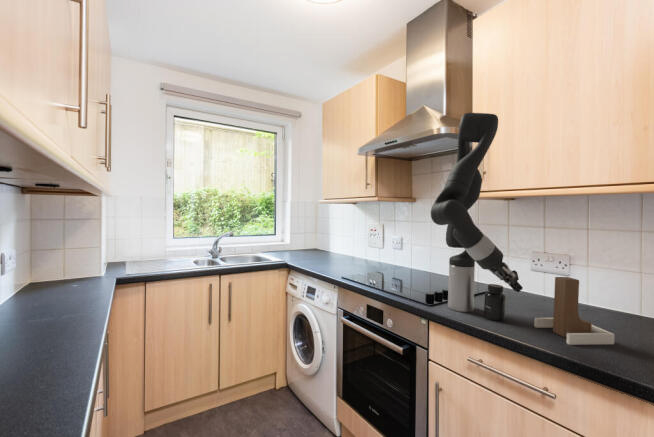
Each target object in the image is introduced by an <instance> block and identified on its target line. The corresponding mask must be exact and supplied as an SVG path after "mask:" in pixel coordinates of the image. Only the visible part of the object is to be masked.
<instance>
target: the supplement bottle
mask: <svg viewBox="0 0 654 437" xmlns="http://www.w3.org/2000/svg"><path fill="white" fill-rule="evenodd" d="M483 298H484V301H483V303H484V304H483V317H484V318H485V319H486V320H489V321H493V322H503V321H505V320H506V307H507V305H506V304H507V296H506V294H505V293H504V286H503V285H501V284H495V283H489V284H488V285H487V291H486V292H485V293H484V297H483Z"/></svg>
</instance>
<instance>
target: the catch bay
mask: <svg viewBox="0 0 654 437" xmlns="http://www.w3.org/2000/svg"><path fill="white" fill-rule="evenodd" d="M553 318H554V317H534V324H533V326H534V328H537V329H538V328H541V329H543V328H551V329H553ZM565 340H566V342H565V343H566V344H567V345H571V346H573V345H574V346H575V345H578V346H579V345H584V346H585V345H615V333H613V332H610V331H607V330H605V329H603V328H601V327H599V326H595V325H594V324H591V333H567V337H566V339H565Z"/></svg>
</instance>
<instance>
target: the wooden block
mask: <svg viewBox="0 0 654 437" xmlns="http://www.w3.org/2000/svg"><path fill="white" fill-rule="evenodd" d="M553 293H554V295H553V296H554V298H553V317H552V318H553V328H552V331H553V333H554V334H557V335H559V336H560V337H563V338H567V333H591V325H592V323H591V322H590V321H586V320H585V319H582V318H580V315H579V298H580V296H579V293H580V280H579V279H577V278H573V277H569V276H555V277H554V292H553Z"/></svg>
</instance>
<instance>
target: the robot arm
mask: <svg viewBox="0 0 654 437" xmlns="http://www.w3.org/2000/svg"><path fill="white" fill-rule="evenodd" d="M498 127H499V117H498V115H497V114H496V113H488V112H487V113H486V112H485V113H484V112H465V113H464V114H463V115H462V116H461V118H460V122H459V125H458V135H457V136H458V137H457V154H456V155H457V156H456V163H455V165H454V166H453V167H452V168H451V170H450V172H449V174H448V176H447V179H446V182H445V184H444V187H443V188H442V190H441V192H440V193H439V194H438V196H437V198H436V199H435V201H434V203H433V204H432V206H431V209H430V218H431V220H432V223H434V224H436V225H437V226H446V225H447V227H446V232H445V242H446V246H448V248H453V249H464V250H463V252H461V253H458V254H456V255H453V256H450V257H449V259H448V260H449V261H448V262H449V263H448V264H449V265H448V288H447V290H448V291H447V292H448V293H447V294H448V295H447V307H448V308H449V309H450V310H452V311H454V312H455V311H456V312H461V313H471V312H473V311H474V307H475V306H474V299H475V273H476V272H475V267H476V264H477V265H478V266H479V267H480V268H481V269H482V270H488V271H489V272H491V274H493V275H494V276H496V277H497V278H498V279H499V280H500V281H503V282H504V283H506V284H508V285H509V286H510V288H511V289H512V290H513V291H514V292H516V293H520V292H521V291H522V290H523V286H522V285H521V284H520V283H519V280H520V277H519V274H518V272H517V271H516V270H511V269H510V267H509V265H508V264H507V263H506V262H503V260H504V253H503V252H502V251H501V250H500V249H499V248H498V246H496V244H495V243H494V242H493V241H492V240H491V239H490V238H489V237H488V236H487V235H486V234H484V233H483V231H481V230H480V228H478V226H477V225H476V224H475V223H474V221H473V219H472V216H471V215H470V213H469V210H470V209H471V208H472V207H473V206H474V204H476V203H477V201H478V200H479V198H480V195H481V190H482V183H483V178H482V174H481V173H480V170H479V166H481V164H482V161H483V160H484V158H485V157H486V155H487V153H488V150H489V149H490V147H491V145H492V144H493V141H494V140H495V136H496V134H497V131H498V129H499V128H498ZM471 143H475V144H476V143H478V144H477V145H476V146H474V148H473V149H472V150H471V146H470V145H471ZM475 263H476V264H475Z"/></svg>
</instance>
